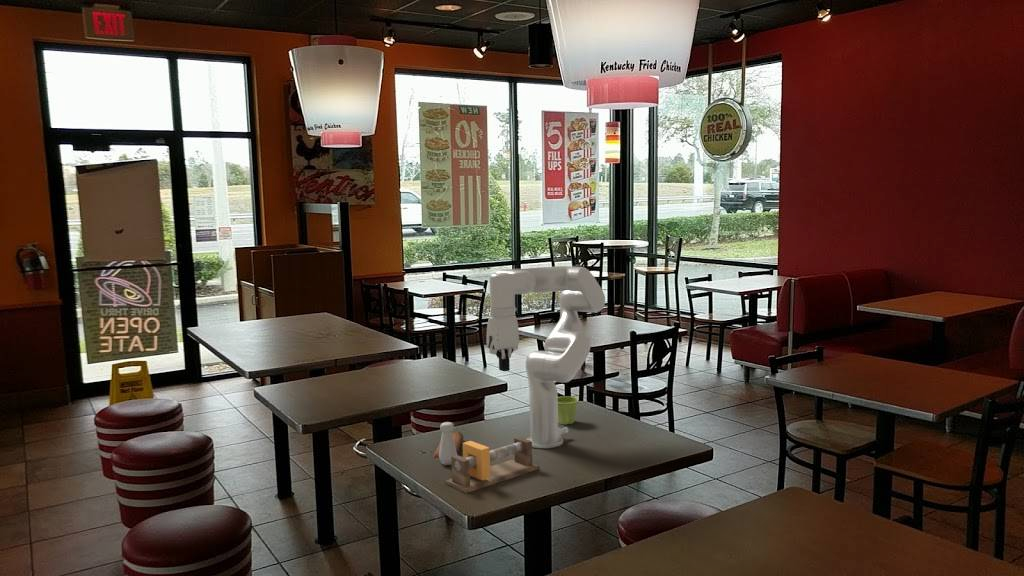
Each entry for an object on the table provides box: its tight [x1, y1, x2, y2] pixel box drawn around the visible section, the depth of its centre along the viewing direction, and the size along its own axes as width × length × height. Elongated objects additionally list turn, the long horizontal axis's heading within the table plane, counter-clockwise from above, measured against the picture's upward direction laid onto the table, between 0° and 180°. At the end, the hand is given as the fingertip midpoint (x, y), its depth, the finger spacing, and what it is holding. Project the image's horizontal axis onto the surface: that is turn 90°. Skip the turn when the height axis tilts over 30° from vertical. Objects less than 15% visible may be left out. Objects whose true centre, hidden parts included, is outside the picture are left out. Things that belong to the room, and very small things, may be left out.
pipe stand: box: [445, 436, 540, 494], centre depth 223 cm, size 28×10×8 cm, turn 130°
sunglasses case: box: [433, 431, 464, 459], centre depth 249 cm, size 18×7×7 cm, turn 179°
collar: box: [462, 440, 491, 480], centre depth 218 cm, size 3×9×9 cm, turn 41°
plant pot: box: [558, 396, 579, 426], centre depth 276 cm, size 9×9×9 cm
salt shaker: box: [438, 421, 457, 466], centre depth 235 cm, size 6×6×13 cm
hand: (504, 370), depth 234 cm, fingers closed
